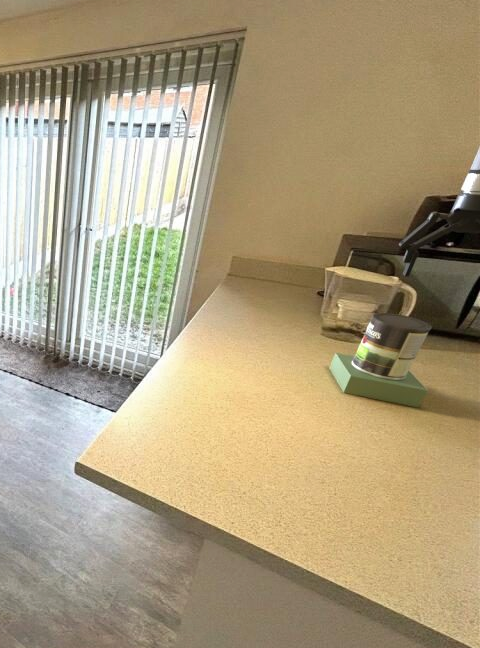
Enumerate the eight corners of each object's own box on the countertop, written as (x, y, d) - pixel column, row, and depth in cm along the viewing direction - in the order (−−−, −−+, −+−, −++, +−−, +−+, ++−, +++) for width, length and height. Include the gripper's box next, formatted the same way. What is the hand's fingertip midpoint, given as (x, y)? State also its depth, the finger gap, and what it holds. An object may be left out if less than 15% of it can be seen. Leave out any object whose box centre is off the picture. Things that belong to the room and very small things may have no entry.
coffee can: (359, 375, 99) (382, 324, 94) (345, 357, 108) (365, 310, 102) (414, 384, 95) (441, 332, 90) (395, 365, 104) (418, 316, 98)
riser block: (395, 380, 106) (403, 364, 104) (418, 407, 95) (427, 390, 93) (329, 368, 112) (335, 352, 110) (343, 392, 101) (350, 376, 99)
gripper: (411, 192, 96) (378, 275, 105) (581, 196, 82) (527, 291, 91) (405, 190, 102) (374, 268, 110) (563, 193, 88) (514, 283, 96)
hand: (443, 279), depth 100 cm, fingers open, 13 cm apart
